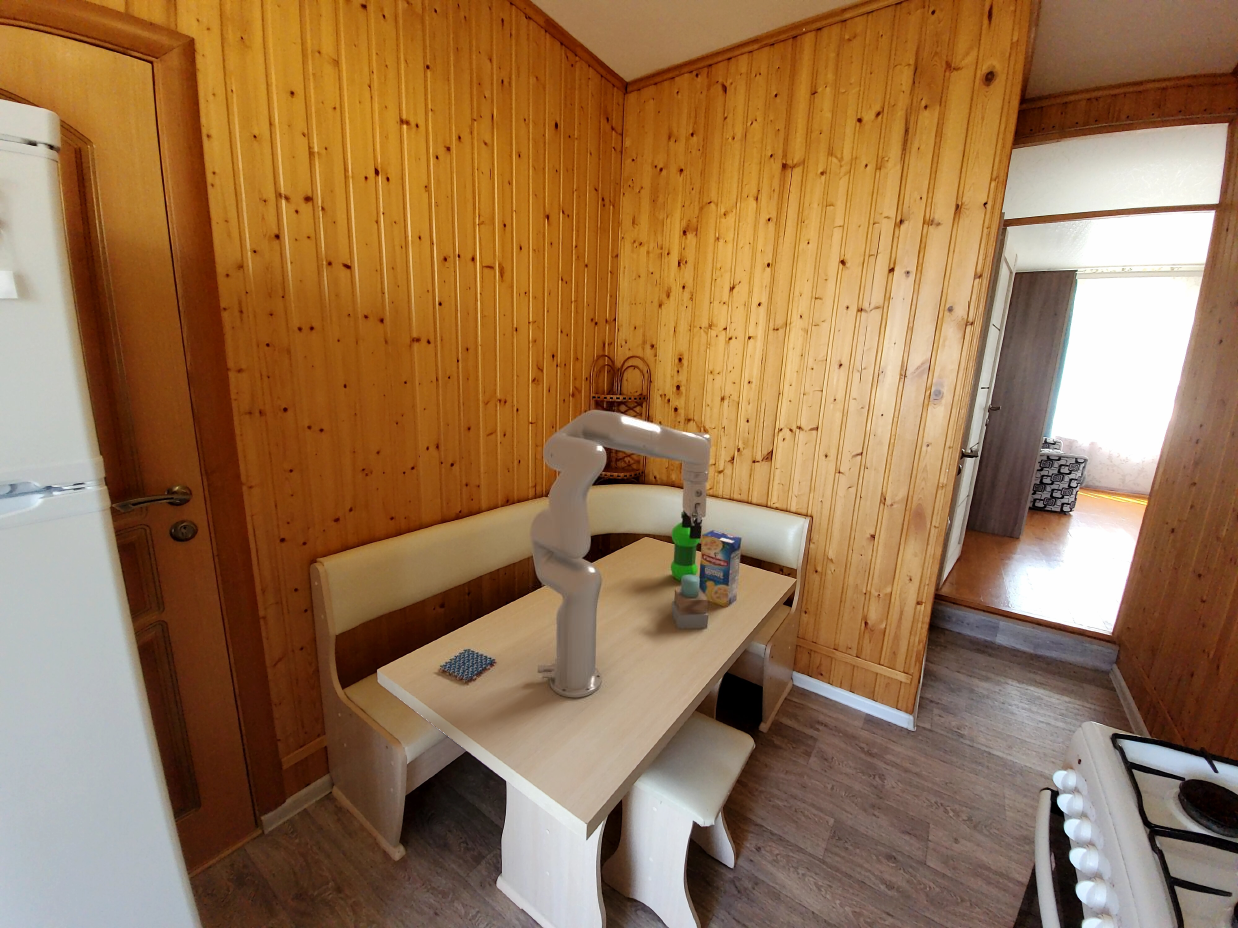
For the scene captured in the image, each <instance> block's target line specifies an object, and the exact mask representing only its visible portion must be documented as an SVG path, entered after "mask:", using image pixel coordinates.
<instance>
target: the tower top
mask: <svg viewBox="0 0 1238 928" xmlns="http://www.w3.org/2000/svg"><path fill="white" fill-rule="evenodd" d="M673 601H674V603H675V604H676V606H677V608H678V610H679V612H680V614H681V615H683V614H708V601H709V600H708V599H707V598H706V596H705V595H704V593H703V592H702V590H701V589H700V588H699V596H698V597H696V598H686V597H684V596H682V595H681V587H680V588H678V587H677V588H674V600H673Z"/></svg>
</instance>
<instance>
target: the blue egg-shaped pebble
mask: <svg viewBox="0 0 1238 928" xmlns="http://www.w3.org/2000/svg"><path fill="white" fill-rule="evenodd" d="M699 583H700V579H699V576H697V575H695V576H694V575H684V576H682V577H681V581H680V588H681V595H682V596H684V597H686V598H696V597H698V596H699Z"/></svg>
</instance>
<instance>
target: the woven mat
mask: <svg viewBox="0 0 1238 928" xmlns="http://www.w3.org/2000/svg"><path fill="white" fill-rule="evenodd" d="M496 664H497V661H496V658H494V657H491V656H489V655H487V654H483V653H480V652H478V651H475V650H473V649H471V648H466V649H463V651H461V652H459V653H458V654H457V655H454V657H453V658H449V660H447V661H444V664H440V665H439V667H440V668H439V673H444V675H446V676H450V677H451V678H452V679H453V680H455V679H456V680H458V681H459V680H460V681H461V682H463V683H464V684H465V683H467V684H468V685H470V684H472V682H474V681H476V680H477V679H478V678H479V677H481V676H482V675H484V674H485V673H486V672H487V671H489V670H491V668H493V667H494V666H496Z"/></svg>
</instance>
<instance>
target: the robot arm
mask: <svg viewBox="0 0 1238 928" xmlns="http://www.w3.org/2000/svg"><path fill="white" fill-rule="evenodd" d="M604 447H605V448H609V449H613V450H618V451H622V452H625V453H626V452H627V453H632V454H635V455H641V456H645V457H649V458H655V459H663V460H664V459H665V460H670V461H675V462H679V463H680V462H681V463H682V470H681V481H682V482H683V492H682V503H681V505H682V509H683V510H682V512H683V514H685V515H683V517H682V518H681V522H682V527H683V528H690V536H689V537H690V539H700V540H701V539H702V527H703V518H705V517H706V515H707V514H706V513H707V483H709V474H710V473H709V472H710V462H711V461H710V460H711V458H710V457H711V448H712V437H711V436H710V434H708V433H704V432H686V431H682V430H678V429H674V428H671V427H667V426H664V425H661V424H657V423H654V422H650V421H647V420H645V419H644V420H643V419H640V418H637V417H634V416H629V415H626V414H623V413H621V412H615V411H614V412H613V411H606V410H601V409H600V410H599V409H593V410H588V411H586V412H584V413H582V414H580V415H579V416H577V417H576V418H575V419H573V420H571V421H570V422H569V423H567V424H566V425H565V426H563V427H562V428H561V429H558V431H556V432H555V433H554V434H552V435H551V436H550V437H549V438H548V439H547V440H546V442H545V444H544V447H543V450H542V457H543V460H544V462H545V463H546V465H547V466H548V467H549V468H551V469H552V470H555V471H557V472H560V473H559V475H558V476H557V478H556V479H555V481H554V483H553V484H552V486H551V487H550V490H549V492H548V493H549V494H548V508H546V509H543V510H541V511H539V512H538V513H537V514H536V515H535V517H534V518H533V520H532V522H531V525H530V531H529V538H530V545H531V550H532V551H531V552H532V558H533V563H534V564H533V565H534V569H535V573H536V576H537V578H538V580H539V581H540V583H541V584H542V585H544V586H546V587H547V588H549V589H551V590H552V591H554V592H556V593H557V594H559V595H561V597H562V602H561V604H560V605H559V607H558V609H557V611H556V618H555V619H556V623H555V625H556V630H555V631H556V642H555V643H556V645H555V646H556V648H555V650H556V651H555V653H556V655H555V659H554V662H551V663H550V664H538V665H537V674H541V678H542V679H549V685H550V687H551V689H552V690H553V691H554V692H555V693H557V695H560V696H563V697H566V698H583V697H586V696H589V695H592V694H594V693H595V692H596V691H597V690H598V689H599V688H600V687H601V684H602V673H601V672H600V671H599V669H598V668H597V667H596V663H597V662H596V659H597V656H596V654H597V651H596V650H597V613H598V602H599V598H600V592H601V588H602V585H603V584H602V581H603V579H602V574H601V573H600V570H599V569H598V568H597V566H595V565H594V564H593V563H592V562H590V561H588V560H586V559H584V557H585V556H586V555H587V554H588V552H589V551H590V549H591V543H592V542H591V528H590V519H589V511H588V496H589V495H588V494H589V492H590V489H591V487H592V486H593V484H594V483H595V481H596V480H597V479H598V477H599V476H600V475H601V473H602V472H603V470H604V468H605V466H606V463H607V451H606V450H605V448H604Z"/></svg>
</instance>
